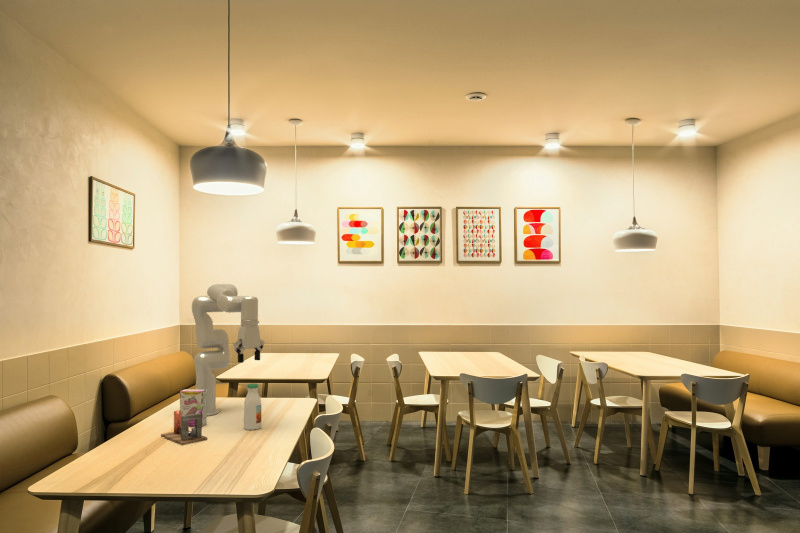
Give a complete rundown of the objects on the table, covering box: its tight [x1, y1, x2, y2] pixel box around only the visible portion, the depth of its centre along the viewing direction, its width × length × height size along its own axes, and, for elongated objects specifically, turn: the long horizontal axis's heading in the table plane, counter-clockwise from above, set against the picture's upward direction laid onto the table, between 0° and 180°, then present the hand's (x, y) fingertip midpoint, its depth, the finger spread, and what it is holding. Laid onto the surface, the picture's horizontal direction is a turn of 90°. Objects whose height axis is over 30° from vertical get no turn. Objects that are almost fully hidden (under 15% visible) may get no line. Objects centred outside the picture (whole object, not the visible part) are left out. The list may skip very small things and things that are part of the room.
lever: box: [173, 410, 196, 438], centre depth 237 cm, size 17×3×9 cm, turn 46°
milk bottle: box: [243, 383, 262, 431], centre depth 254 cm, size 8×8×20 cm
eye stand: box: [160, 413, 208, 446], centre depth 237 cm, size 20×11×11 cm, turn 46°
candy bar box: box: [179, 388, 208, 428], centre depth 259 cm, size 11×5×16 cm, turn 84°
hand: (249, 361), depth 254 cm, fingers open, 9 cm apart
